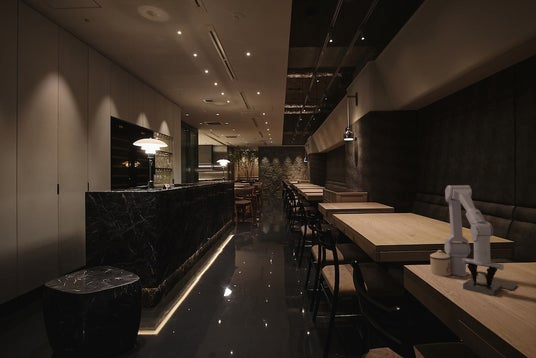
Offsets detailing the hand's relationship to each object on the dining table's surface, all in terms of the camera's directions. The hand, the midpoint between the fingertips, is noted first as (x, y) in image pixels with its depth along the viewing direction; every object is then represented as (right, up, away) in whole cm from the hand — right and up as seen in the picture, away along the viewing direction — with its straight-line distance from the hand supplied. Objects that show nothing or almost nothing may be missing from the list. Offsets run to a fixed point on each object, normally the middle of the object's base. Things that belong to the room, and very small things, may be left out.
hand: (482, 283), depth 128 cm
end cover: (0, -3, 0) cm, 3 cm away
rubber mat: (+11, -3, +4) cm, 12 cm away
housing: (0, -3, 0) cm, 3 cm away
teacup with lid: (-4, -3, +23) cm, 24 cm away
